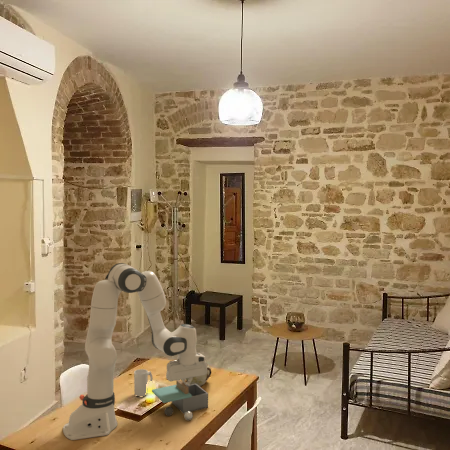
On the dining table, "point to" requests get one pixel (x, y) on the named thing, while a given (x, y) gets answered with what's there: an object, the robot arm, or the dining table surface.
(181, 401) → the bin
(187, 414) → the steel ball
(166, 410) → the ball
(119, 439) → the dining table surface
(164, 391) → the lid
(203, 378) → the sugar bowl
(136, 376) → the mug
